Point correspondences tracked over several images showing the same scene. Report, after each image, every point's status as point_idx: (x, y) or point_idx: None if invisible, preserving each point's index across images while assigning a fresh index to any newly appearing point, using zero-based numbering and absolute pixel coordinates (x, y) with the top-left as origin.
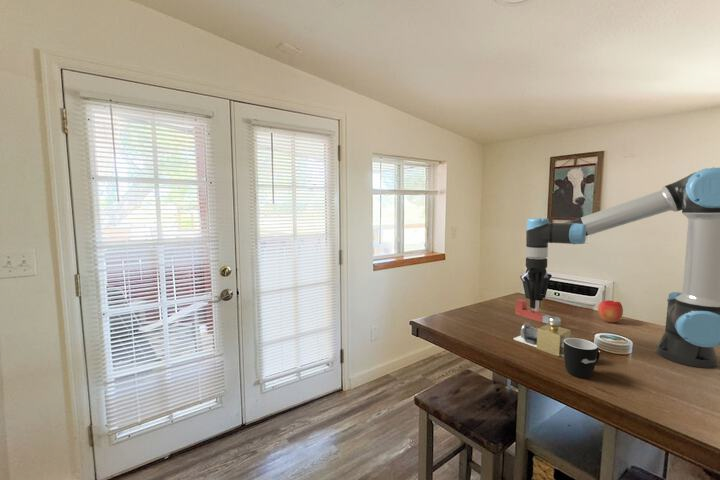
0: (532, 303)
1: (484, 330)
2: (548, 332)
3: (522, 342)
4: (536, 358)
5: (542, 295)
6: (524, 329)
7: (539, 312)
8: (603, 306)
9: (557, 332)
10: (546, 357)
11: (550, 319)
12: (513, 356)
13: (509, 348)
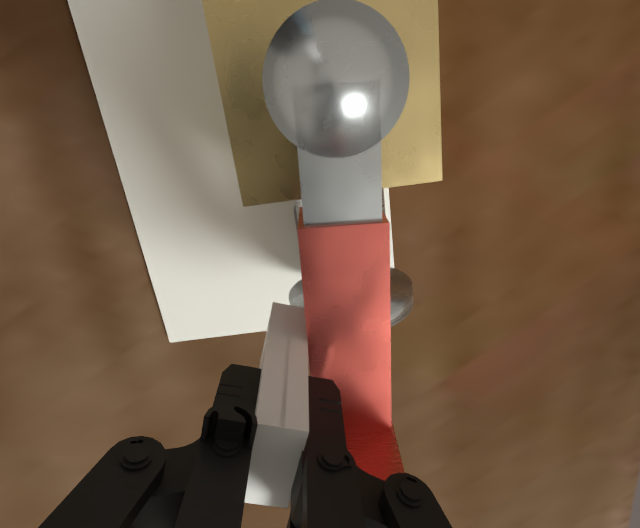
0: (343, 430)
1: (420, 455)
2: (437, 71)
3: (392, 256)
4: (547, 54)
5: (151, 492)
6: (394, 292)
7: (316, 298)
8: None
9: (389, 4)
10: (478, 30)
11: (403, 95)
12: (631, 148)
13: (538, 236)
